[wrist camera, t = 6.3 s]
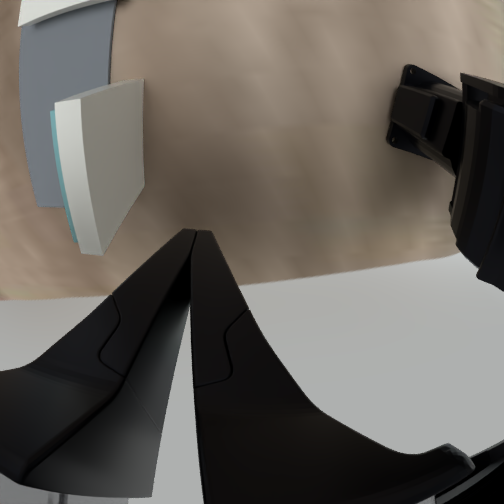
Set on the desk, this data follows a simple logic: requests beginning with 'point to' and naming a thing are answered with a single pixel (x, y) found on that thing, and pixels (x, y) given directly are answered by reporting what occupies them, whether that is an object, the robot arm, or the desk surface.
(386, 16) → the desk surface
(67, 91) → the rubber mat
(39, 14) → the glazed tile
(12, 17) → the desk surface
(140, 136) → the glazed tile
